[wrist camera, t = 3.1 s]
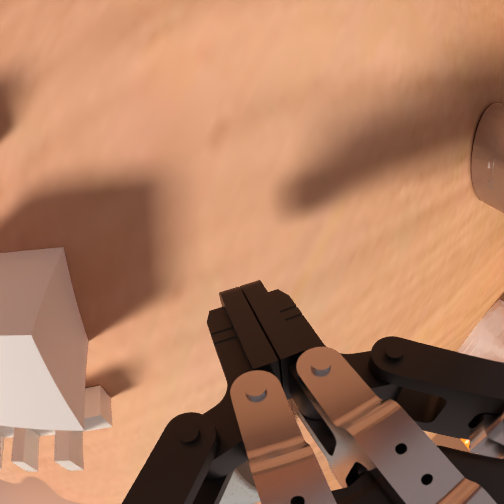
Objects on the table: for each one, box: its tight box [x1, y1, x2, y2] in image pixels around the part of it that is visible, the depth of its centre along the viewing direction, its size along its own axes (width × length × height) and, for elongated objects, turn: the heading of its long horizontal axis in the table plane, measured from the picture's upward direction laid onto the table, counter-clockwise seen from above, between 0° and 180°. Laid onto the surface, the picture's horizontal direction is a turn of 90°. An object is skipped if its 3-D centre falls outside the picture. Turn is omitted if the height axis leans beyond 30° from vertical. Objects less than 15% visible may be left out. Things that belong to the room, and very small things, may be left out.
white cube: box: [0, 247, 89, 431], centre depth 10 cm, size 6×6×6 cm
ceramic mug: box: [219, 460, 260, 504], centre depth 22 cm, size 11×8×8 cm
